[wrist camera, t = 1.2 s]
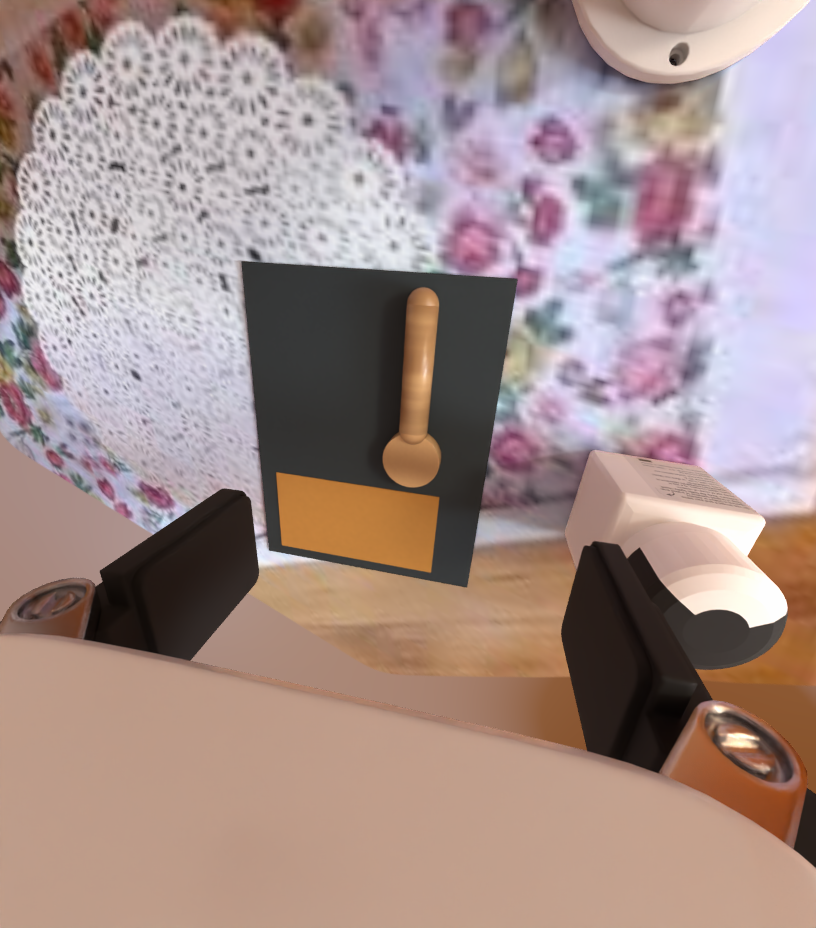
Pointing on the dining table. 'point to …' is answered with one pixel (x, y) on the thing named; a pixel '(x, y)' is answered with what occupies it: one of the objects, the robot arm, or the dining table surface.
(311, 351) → the mat
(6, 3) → the dining table surface
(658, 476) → the container
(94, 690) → the robot arm
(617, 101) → the dining table surface
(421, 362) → the wooden rod with disc
